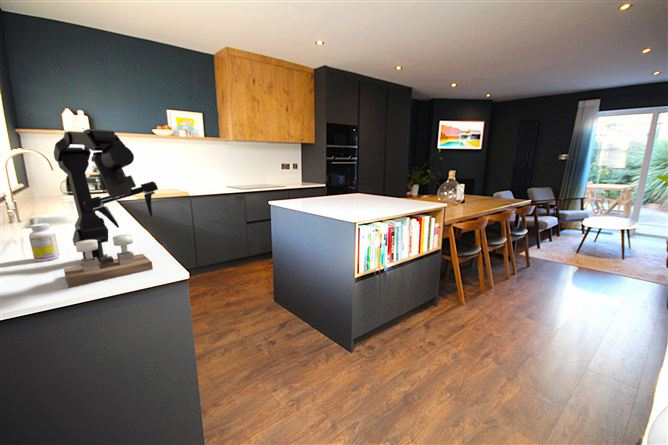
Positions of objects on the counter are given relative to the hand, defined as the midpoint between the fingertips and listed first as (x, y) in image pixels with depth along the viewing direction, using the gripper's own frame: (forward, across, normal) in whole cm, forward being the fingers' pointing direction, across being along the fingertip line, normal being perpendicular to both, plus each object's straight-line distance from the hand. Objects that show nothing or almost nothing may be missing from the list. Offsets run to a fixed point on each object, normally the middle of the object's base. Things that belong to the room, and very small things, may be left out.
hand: (135, 221), depth 92 cm
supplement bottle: (+4, -32, +36) cm, 48 cm away
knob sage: (+9, -7, +7) cm, 13 cm away
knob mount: (+13, -12, +7) cm, 19 cm away
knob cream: (+7, -15, +5) cm, 17 cm away
